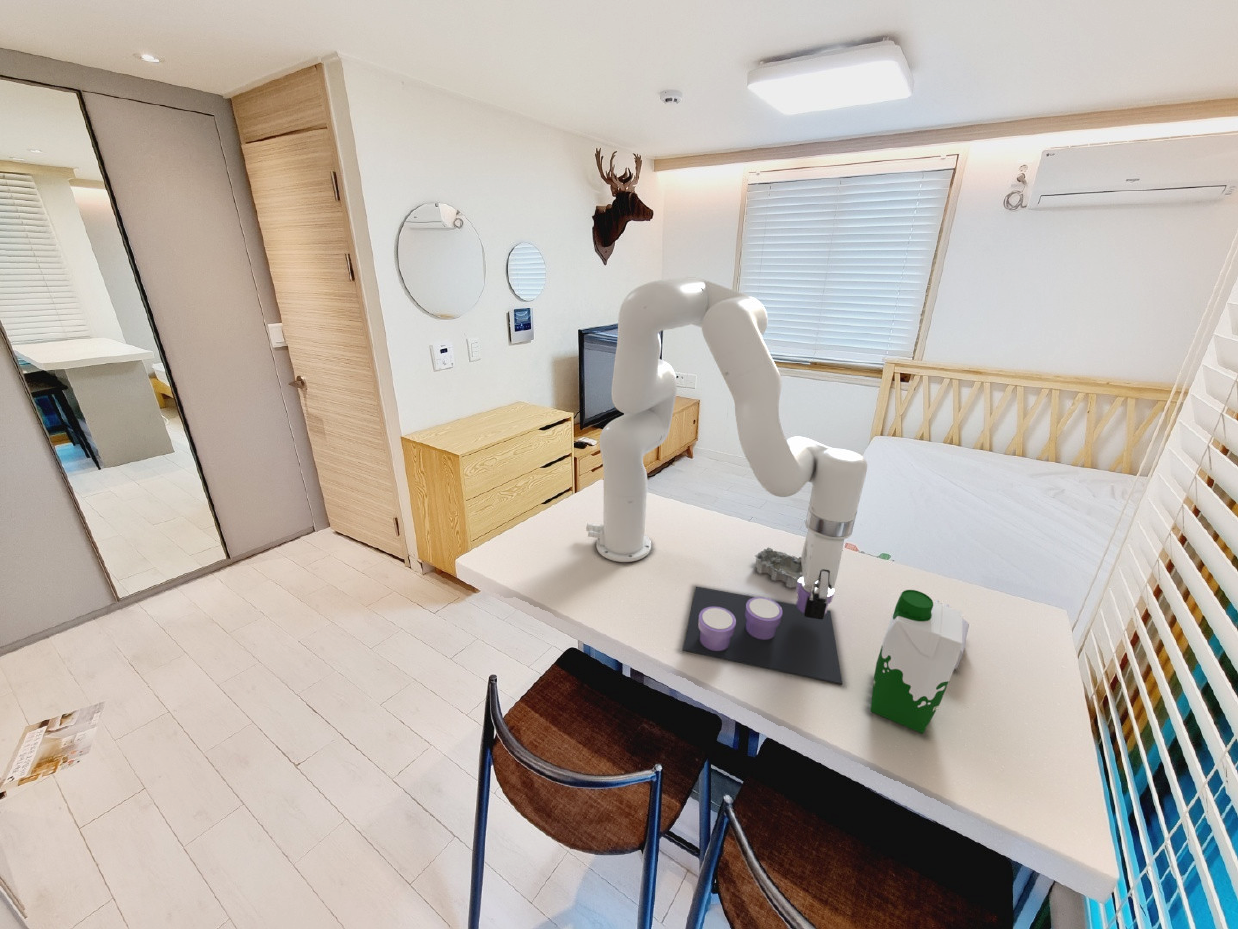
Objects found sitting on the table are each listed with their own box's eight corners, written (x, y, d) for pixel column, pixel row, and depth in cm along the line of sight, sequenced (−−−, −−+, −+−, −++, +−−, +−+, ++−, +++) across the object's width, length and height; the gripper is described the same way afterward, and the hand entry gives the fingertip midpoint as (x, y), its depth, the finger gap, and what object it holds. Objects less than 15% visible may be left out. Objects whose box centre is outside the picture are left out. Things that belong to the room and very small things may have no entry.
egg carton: (812, 578, 107) (815, 562, 105) (794, 593, 102) (797, 576, 101) (768, 555, 114) (771, 540, 112) (749, 568, 109) (752, 553, 108)
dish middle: (741, 637, 90) (745, 616, 88) (743, 614, 96) (746, 593, 94) (778, 645, 89) (783, 623, 87) (778, 620, 94) (782, 600, 92)
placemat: (682, 650, 87) (682, 649, 87) (695, 587, 103) (696, 586, 103) (842, 684, 81) (842, 683, 81) (830, 612, 97) (830, 610, 97)
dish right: (794, 615, 91) (798, 593, 89) (792, 593, 97) (796, 572, 95) (831, 621, 90) (836, 600, 88) (827, 599, 95) (832, 578, 93)
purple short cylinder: (694, 648, 87) (696, 627, 85) (698, 624, 93) (701, 603, 91) (731, 656, 86) (735, 634, 84) (733, 631, 92) (737, 609, 90)
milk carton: (871, 674, 83) (901, 576, 75) (933, 699, 79) (973, 598, 71) (862, 713, 77) (895, 610, 68) (930, 742, 72) (974, 636, 64)
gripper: (803, 495, 94) (788, 573, 101) (810, 544, 79) (792, 632, 86) (846, 500, 92) (828, 580, 100) (861, 552, 77) (839, 641, 84)
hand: (811, 603), depth 93 cm, fingers closed on dish right, 6 cm apart
